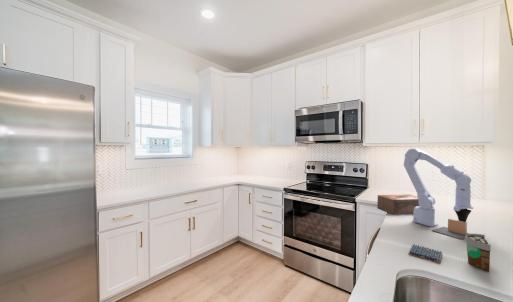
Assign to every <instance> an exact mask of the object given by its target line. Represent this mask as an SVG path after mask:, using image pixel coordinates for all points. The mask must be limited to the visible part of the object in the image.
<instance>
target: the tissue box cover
mask: <svg viewBox="0 0 513 302" xmlns="http://www.w3.org/2000/svg"><path fill="white" fill-rule="evenodd" d="M416 206H418V207H419V206H420V205H419V199H418V197H417V195H412V194H377V210H380V211H383V212H385V213H387V214H390V215H394V216H396V215H413V212H414V208H415V207H416Z"/></svg>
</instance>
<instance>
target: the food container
mask: <svg viewBox="0 0 513 302" xmlns="http://www.w3.org/2000/svg"><path fill="white" fill-rule="evenodd" d="M485 236H486V235H485V234H481V233H469V234H467V235H466V236H465V239H463V241H464V242H465V243H466V251H467V255H466V256H467V263H468V264H469V265H471V267H474V268H475V269H479V270H480V271H484V272H487V273H490V264H491V263H490V262H491V261H490V260H491V250H492V249H491V244H489V243H488V241H487V240H486V237H485Z"/></svg>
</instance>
